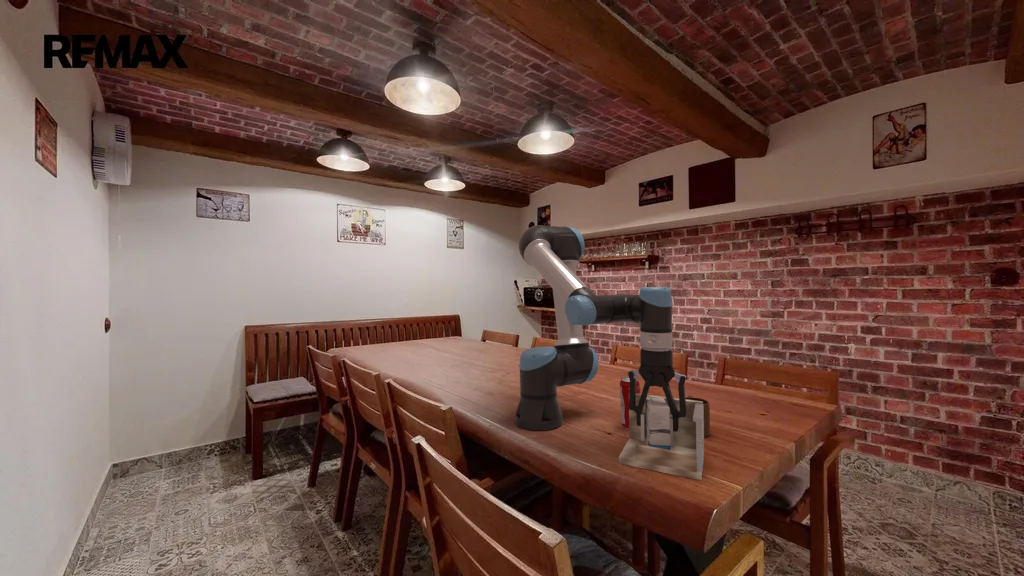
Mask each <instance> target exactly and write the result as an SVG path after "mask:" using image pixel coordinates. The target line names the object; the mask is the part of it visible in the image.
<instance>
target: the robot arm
mask: <svg viewBox="0 0 1024 576" xmlns="http://www.w3.org/2000/svg"><path fill="white" fill-rule="evenodd" d="M585 247H586V245H585V239H584V236H583V235H582V233H581V232H580V231H579V230H577V229H576V228H574V227H569V226H566V225H563V226H555V225H543V224H541V225H540V224H538V225H533V226H530V227H528V228H527V229H526V230H524V231H523V233H522V234H521V236H520V239H519V240H518V250H519V251H518V252H519V254H520V256H521V257H522V258H521V259H523V261H524V262H525V263H526V264H528V265H529V266H532V267H533V268H534V269H535V270H536V271H537V272H538V273H539V274H540V276H541V277H542V278H543V279H544V280H545V282H546V283H547V284H548V285H549V286H550V287H551V288H552V295H553V303H554V311H555V313H554V315H555V323H556V333H557V340H556V341H555V343H554V344H553V345H554V346H550V345H549V346H548V345H546V346H535V347H531V348H527V349H525V350H524V351H523V352H522V353H520V355H519V365H518V366H519V367H518V368H519V390H520V397H519V400H518V405H517V407H516V411H515V414H514V415H515V416H514V418H515V419H514V423H515V425H516V426H518V427H519V428H522V429H525V430H530V431H549V430H550V431H551V430H554V429H557V428H559V427H560V426H562V425H563V424H564V423H563V421H564V420H563V417H564V416H563V412H562V409H561V406H560V404H559V400H558V394H557V393H558V392H557V391H558V390H557V389H558V387H565V386H572V385H581V384H584V383H588V382H591V381H593V380H594V378H595V376H596V375H597V374H598V371H599V357H598V354H597V353H596V351H595V349H594V348H592V347H590V343H589V341H588V340H587V339H586V338H585V336H584V330H583V326H590V325H601V324H616V323H617V324H619V323H636V324H639V333H640V334H639V336H640V337H639V342H640V343H639V344H640V347H641V349H640V351H639V352H640V353H639V354H640V357H639V359H640V365H639V368H638V369H635V370H634V369H630V370H629V372H627V377H629V379H630V392H629V409H630V410H633V411H635V412H636V419H637V426H641V441H644V440H645V438H646V412H642V410H643V407H644V404H645V401H646V398H647V395H649V391H650V388H651V387H658V388H662V391H663V393H664V397H666V399H667V402H668V405H669V408H670V411H671V414H672V415H670V444H671V446H673V444H674V431H675V432H677V431H678V429H679V418H680V417H685V416H686V413H687V411H686V399H685V398H686V391H685V389H686V387H685V383H686V380H687V375H686V374H684V373H683V374H681V373H677V372H676V371H675V369H674V367H673V366H674V365H673V361H674V360H673V357H674V356H673V355H674V354H673V350H672V348H673V327H672V326H673V325H672V324H673V323H672V322H673V300H672V291H671V288H669V287H668V286H649V287H648V286H644V287H640V288H639V294H625V293H616V294H595V293H594V292H593V291H592V290H591V289H590V288H589V287H588V286H587V285H586V284H585V283H584V282H583V281H582V280H581V278H580V277H578V276H577V267H578V265H579V264H580V260H581V258H583V256H584V254H585V253H584V251H585ZM639 375H640V377H641V379H643V381H644V384H643V389H642V392H641V393H640V394H641V397H640V400H639V403H638V406H637V405H635V403H636V384H637V379H638V378H639ZM673 378H675V383H677V384H678V385H677V388H678V390H677V391H678V399H679V403H680V411H678V410H677V407H676V404H675V401H674V398H675V397H674V395H673V393H672V389H671V385H670V382H671V380H673Z"/></svg>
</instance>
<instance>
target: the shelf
mask: <svg viewBox="0 0 1024 576" xmlns="http://www.w3.org/2000/svg"><path fill="white" fill-rule="evenodd" d="M641 394H642V393H640V394H636V403H635V405H637V406H638V403H639V400H640V397H641ZM647 397H650V398H663V399H664V400H665V401H666V403H667V405H668V402H667V399H666V396H660V395H651V394H647ZM673 398H674V401H675V404H676V407H677V410H678V411H680V403H679V397H678V398H676V397H673ZM695 403H700V404H703V401H695V400H687V399H686V411H687V413H686V416H685V417H680V418H679V429H678V431H677V432H675V431H674V444H673V446H671V450H667V449H662V448H656V447H651V446H647V444H646V438H645V440H644V441H641V426H637V419H636V412H635V411H633V410H630V409H629V430H628V431H629V432H628V433H629V435H628V436H629V438H628V440H627V442H626V443H625V445H624V447H623V449H622V450H621V452H620V454H619V456H618V464H621V465H623V466H624V465H625V466H631V467H635V468H638V469H639V468H641V469H644V470H649V471H654V472H660V473H664V474H669V475H673V476H679V477H683V478H689V479H692V480H693V479H694V480H698V481H702V480H703V478H702V477H703V472H700V471H697V464H696V422H695V421H693V414H694V409H695ZM668 406H669V405H668ZM642 412H645V404H644V407H643V410H642ZM670 415H672V414H671V411H670Z"/></svg>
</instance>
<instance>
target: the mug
mask: <svg viewBox="0 0 1024 576" xmlns="http://www.w3.org/2000/svg"><path fill="white" fill-rule="evenodd" d="M685 399H687V400H695V401H703V407H704V438H706V437H709V436H710V434H711V433H710V432H711V416H710V415H711V411H710V410H711V408H710V402H709V400H707V399H703V398H701V397H700V398H699V397H694V396H693V395H688V396H687V397H686V396H685Z"/></svg>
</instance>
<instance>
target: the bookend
mask: <svg viewBox="0 0 1024 576" xmlns="http://www.w3.org/2000/svg"><path fill="white" fill-rule="evenodd" d="M693 421H695V422H696V464H697V471H700V472H702V473H703V471H704V457H705V437H704V407H703V404H700V403H695V409H694V414H693Z"/></svg>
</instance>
